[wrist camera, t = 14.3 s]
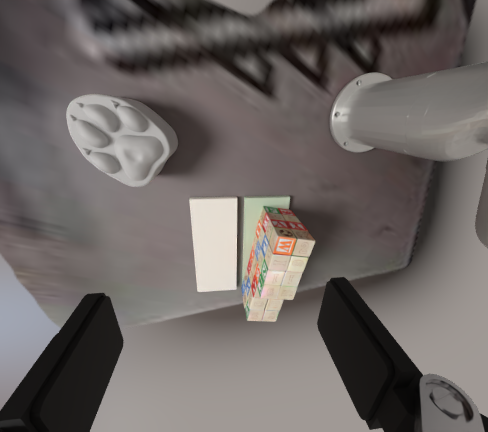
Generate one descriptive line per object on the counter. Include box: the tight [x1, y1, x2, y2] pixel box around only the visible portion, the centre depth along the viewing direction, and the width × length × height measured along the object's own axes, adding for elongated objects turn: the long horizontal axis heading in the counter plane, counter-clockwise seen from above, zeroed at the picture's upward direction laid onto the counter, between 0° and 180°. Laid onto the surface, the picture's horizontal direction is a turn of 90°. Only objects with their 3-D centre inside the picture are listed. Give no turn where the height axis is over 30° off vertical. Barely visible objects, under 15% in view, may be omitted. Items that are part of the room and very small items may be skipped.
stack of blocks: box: [242, 206, 315, 322], centre depth 43 cm, size 21×6×12 cm, turn 168°
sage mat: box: [242, 196, 290, 284], centre depth 48 cm, size 9×23×1 cm, turn 179°
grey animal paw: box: [66, 94, 178, 187], centre depth 32 cm, size 10×13×9 cm
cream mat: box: [189, 197, 237, 292], centre depth 47 cm, size 9×23×1 cm, turn 179°
